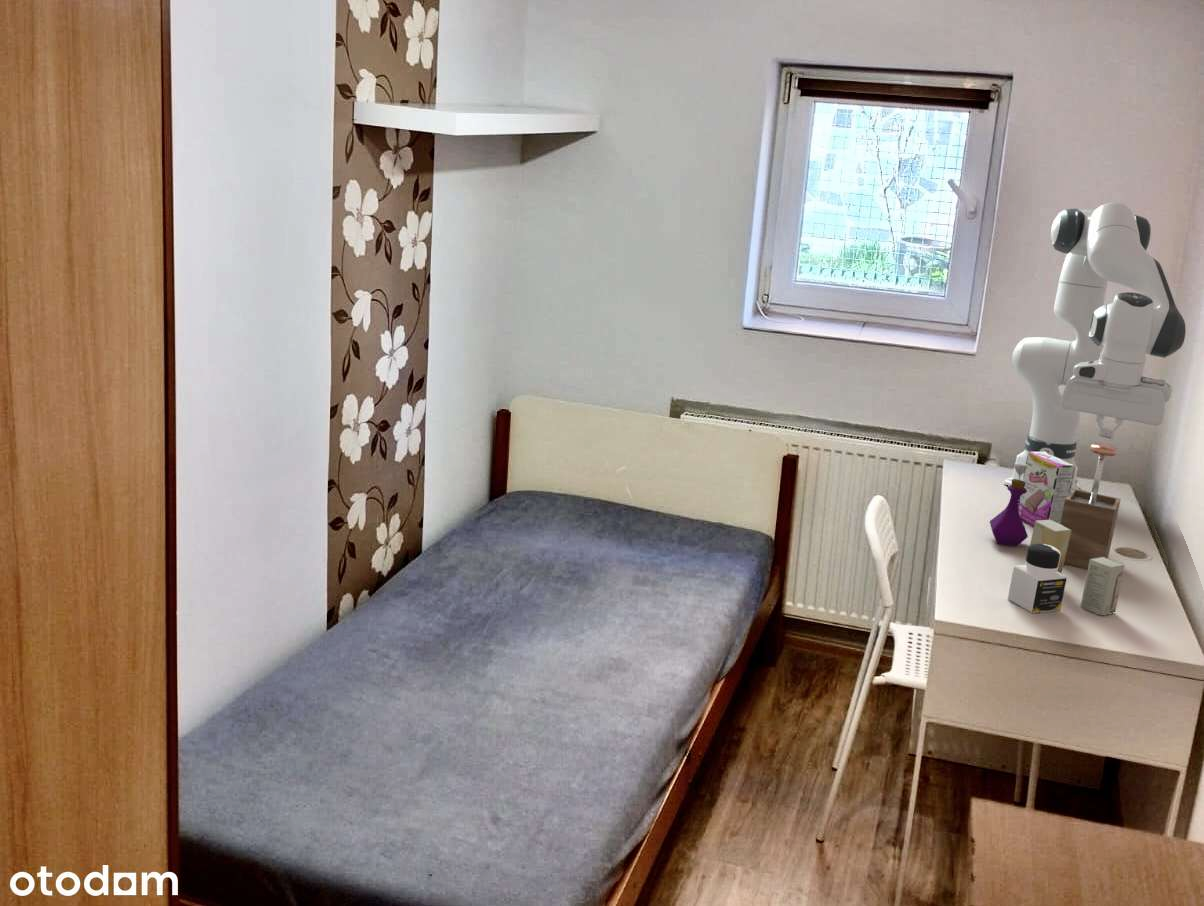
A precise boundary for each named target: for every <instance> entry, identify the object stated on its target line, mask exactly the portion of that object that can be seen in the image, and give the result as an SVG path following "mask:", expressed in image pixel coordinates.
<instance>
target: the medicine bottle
mask: <svg viewBox="0 0 1204 906" xmlns="http://www.w3.org/2000/svg"><path fill="white" fill-rule="evenodd" d="M1025 557H1026V558H1025V561H1024V564H1021V565H1014V566H1013V570H1012V574H1011V581H1010V584H1009V589H1008V590H1009V591H1008V596H1007V599H1008V601H1010V602H1011V603H1013V604H1016V605H1017V606H1019V607H1020V608H1023V610H1026V611H1027V612H1029V613H1031V614H1037V613H1038V612H1040V613H1047V611H1049V612H1056V611H1057V610H1059V611H1061V607H1062V602H1063V598H1064V593H1065V588H1066V585H1067V579H1068V577H1067V576H1066V575H1065V574H1063V573H1062V574H1061V573H1059V572H1057V571H1058V566H1059V561H1060V557H1061V553H1060V551H1059V550H1058V549H1056V548H1055V547H1053V546H1050V545H1047V544H1032V545H1030V544H1029V546H1028V547H1027V552H1026V556H1025ZM1038 614H1039V613H1038Z"/></svg>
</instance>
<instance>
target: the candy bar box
mask: <svg viewBox="0 0 1204 906" xmlns="http://www.w3.org/2000/svg"><path fill="white" fill-rule="evenodd" d="M1026 466H1027V469H1026V471H1025V472H1024V477H1023V481H1024V482H1025V483H1026V484H1025V487H1024V488H1026V490H1027V492H1026V493H1024V494H1022V495H1021V496H1020V499H1019V503H1018V510H1019V514H1020V517H1021V520H1022V522H1023V523H1026V524H1028V525H1030V526H1031V525H1032V527H1033V528H1034V525H1035V521H1038V520H1052V521H1054V522H1056V523H1058V524H1060V522H1061V517H1062V513H1063V508H1064V503H1065V499H1066V497H1067V496H1068V494H1069V493H1070V489H1071V484H1072V479H1073V474H1074V469H1075V466H1074V465H1072V464H1070V463H1068V462H1066V461H1063V460H1061V459H1059V458H1057V457H1055V456H1053V455H1051V454H1049V453H1046V452H1044V451H1040V452H1039V451H1035V452H1033V451H1031V452H1028V456H1027V461H1026Z"/></svg>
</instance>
